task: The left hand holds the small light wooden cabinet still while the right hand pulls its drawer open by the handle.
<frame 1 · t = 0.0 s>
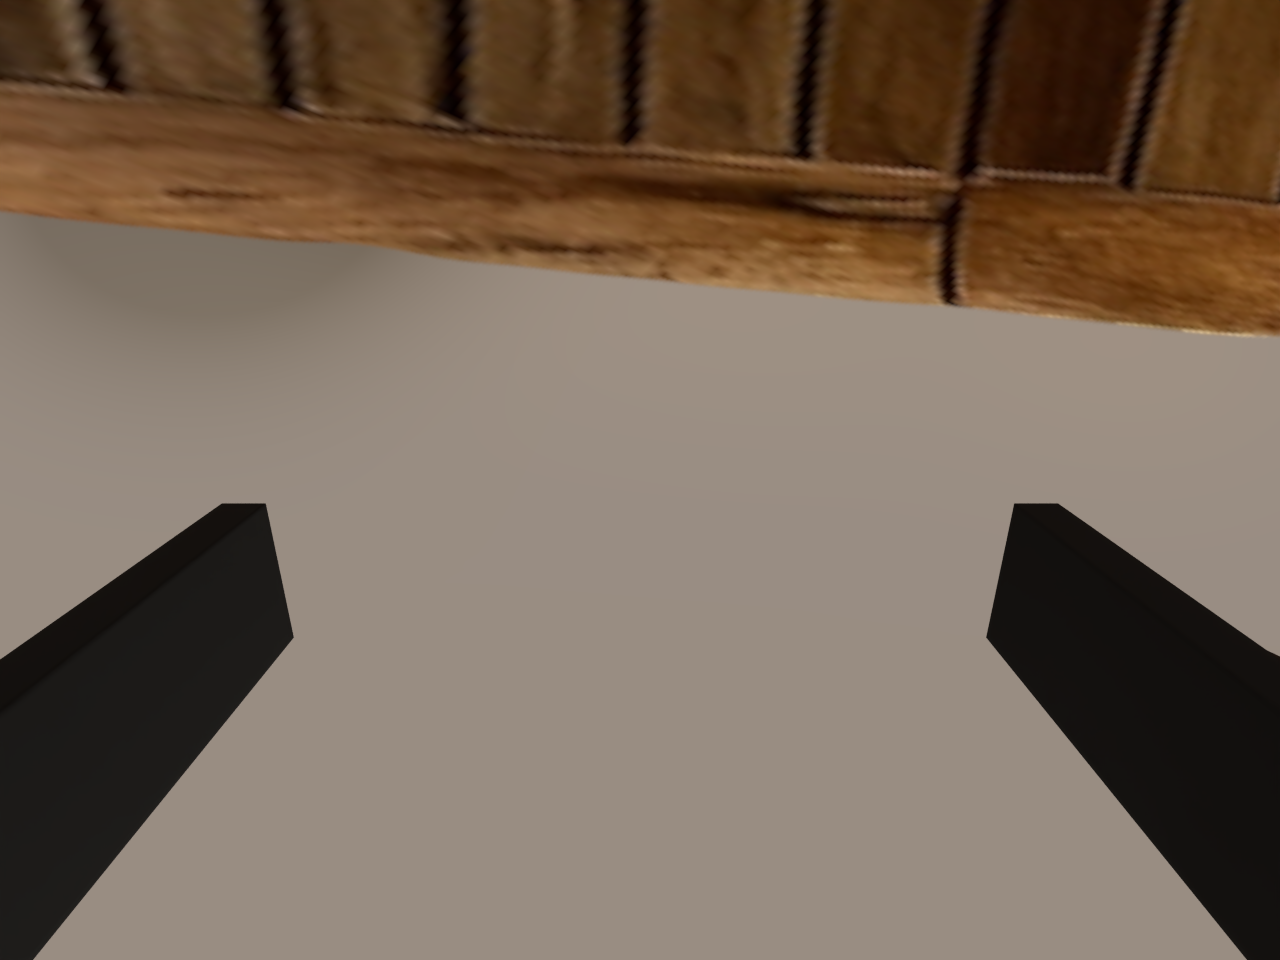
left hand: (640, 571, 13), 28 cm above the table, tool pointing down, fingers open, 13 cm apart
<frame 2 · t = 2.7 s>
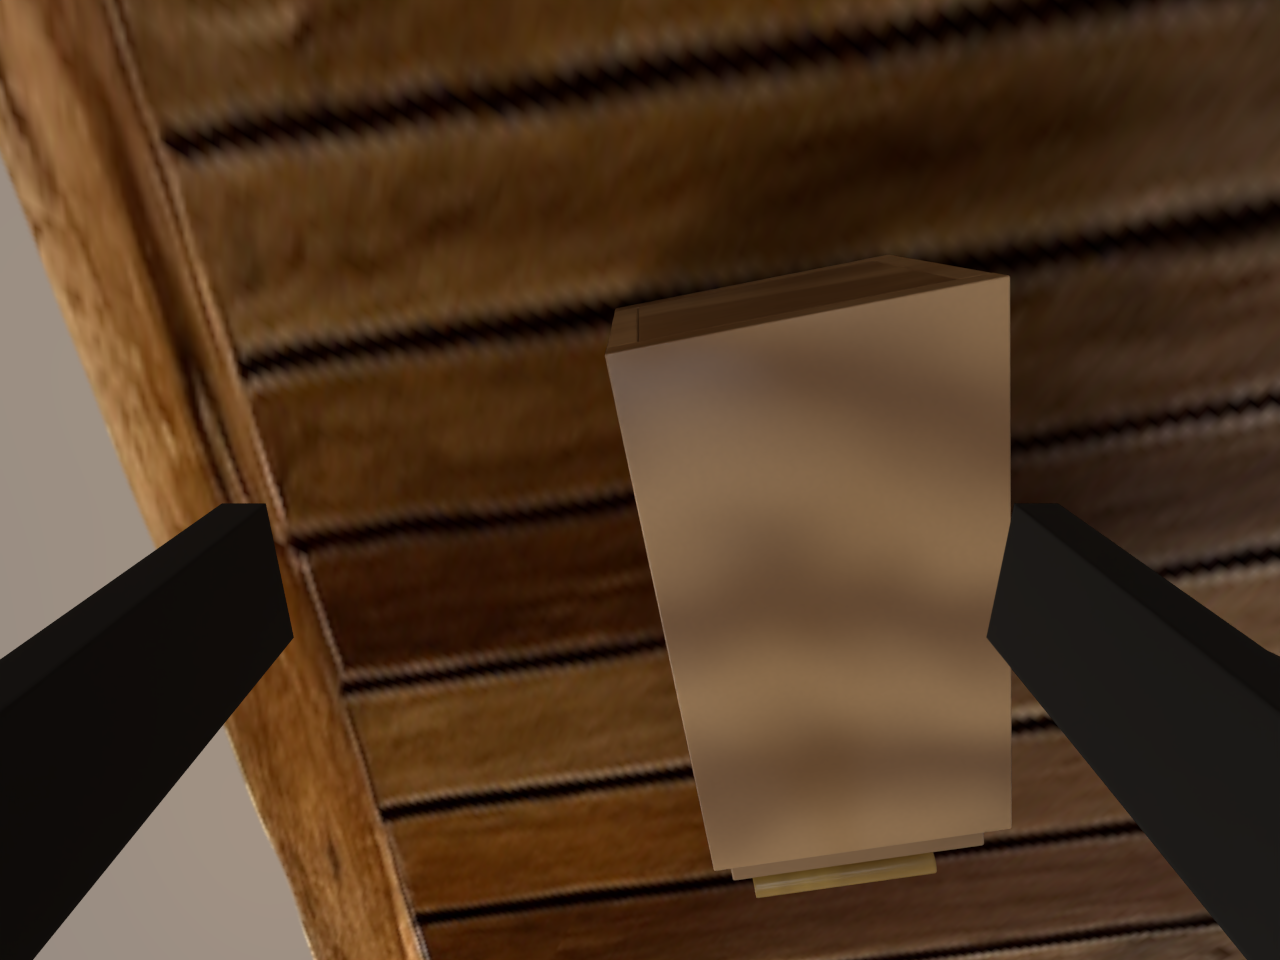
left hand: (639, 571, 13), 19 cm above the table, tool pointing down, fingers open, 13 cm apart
cabinet: (780, 506, 33), on the table
drawer: (817, 669, 30), point 5 cm above the table, slide at 0.7 cm
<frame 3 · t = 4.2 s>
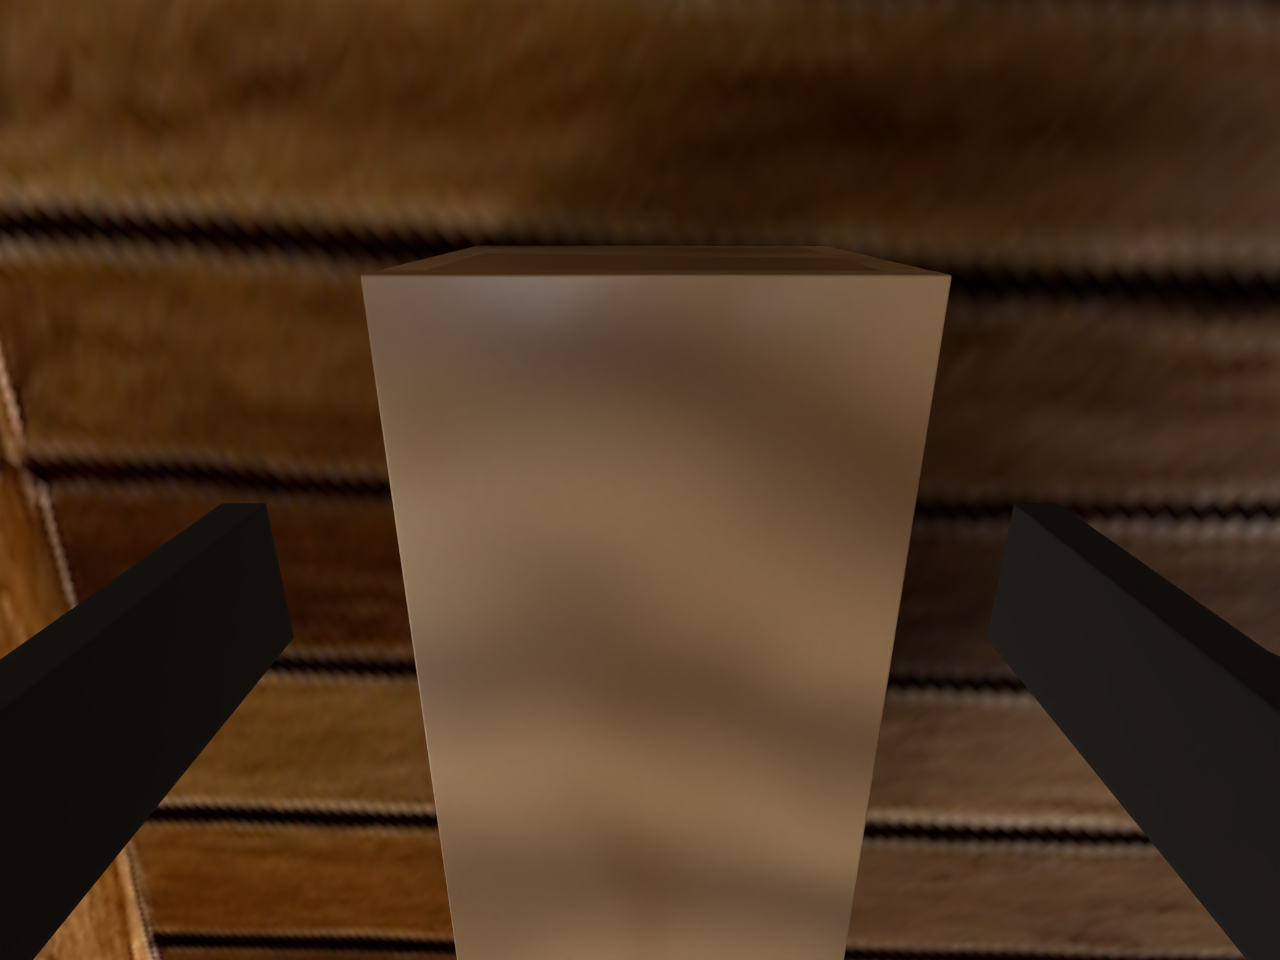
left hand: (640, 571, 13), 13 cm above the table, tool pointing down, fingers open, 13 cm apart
cabinet: (650, 532, 27), on the table
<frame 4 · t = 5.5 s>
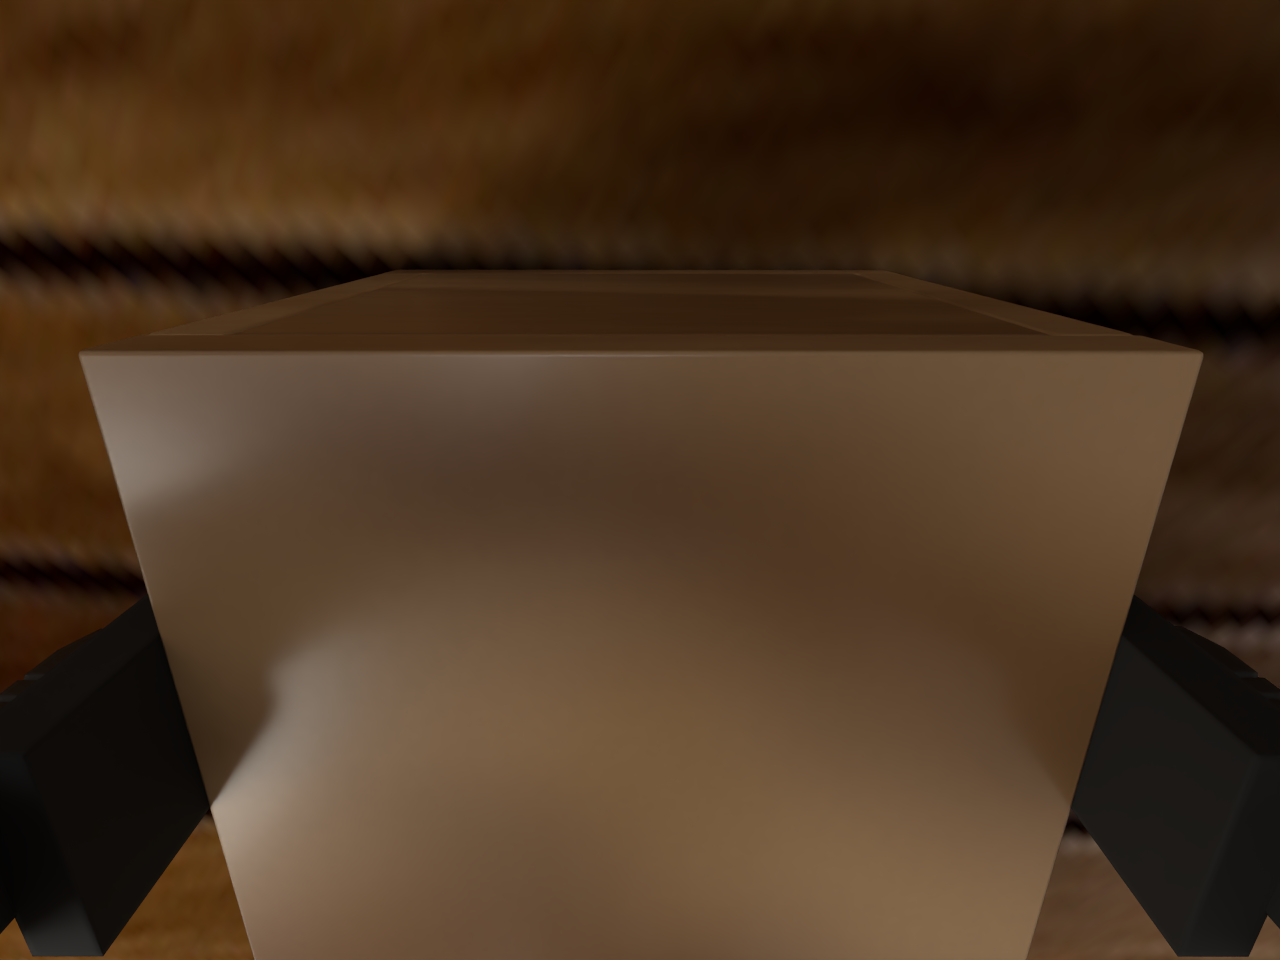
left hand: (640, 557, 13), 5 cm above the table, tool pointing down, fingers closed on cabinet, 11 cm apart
cabinet: (640, 644, 20), on the table, touching left hand
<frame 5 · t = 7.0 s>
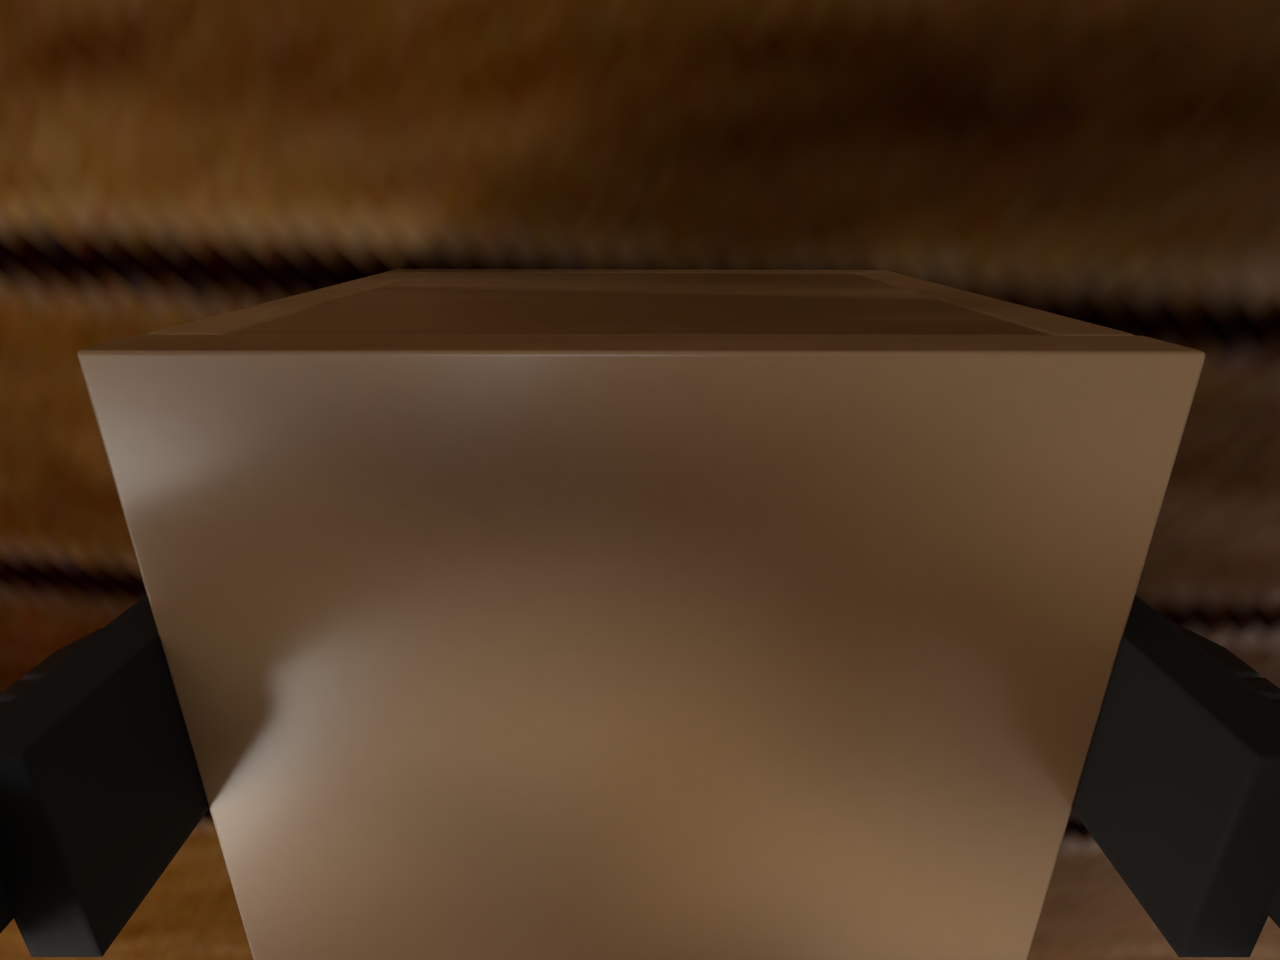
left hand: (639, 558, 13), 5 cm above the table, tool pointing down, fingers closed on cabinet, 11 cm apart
cabinet: (640, 643, 20), on the table, touching left hand
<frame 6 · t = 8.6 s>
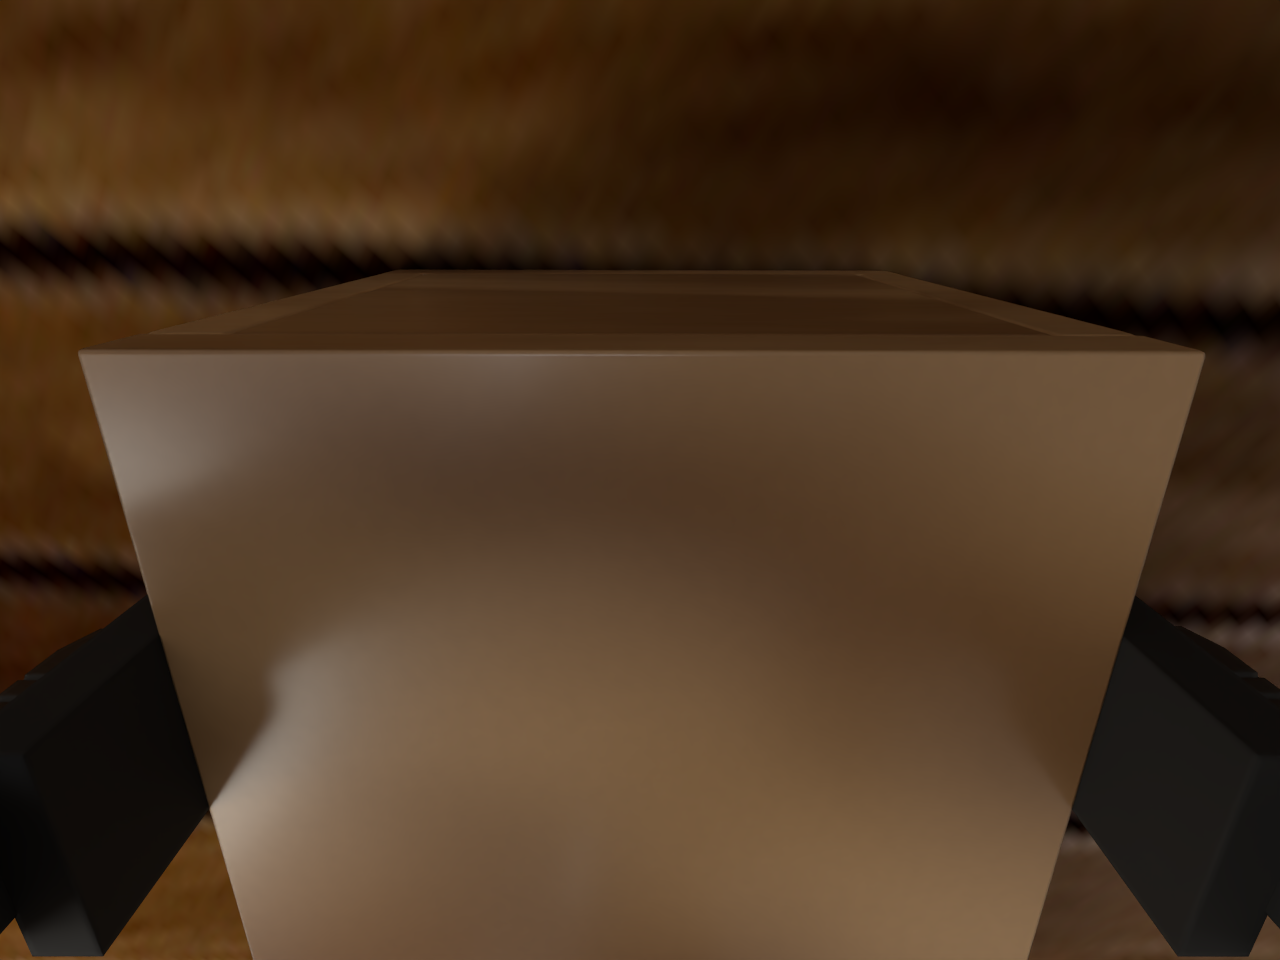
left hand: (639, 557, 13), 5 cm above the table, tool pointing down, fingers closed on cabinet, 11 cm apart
cabinet: (640, 644, 20), on the table, touching left hand
when the left hand's fingers open (5 cm above the table, at t = 10.5 s): cabinet stays where it is, on the table.
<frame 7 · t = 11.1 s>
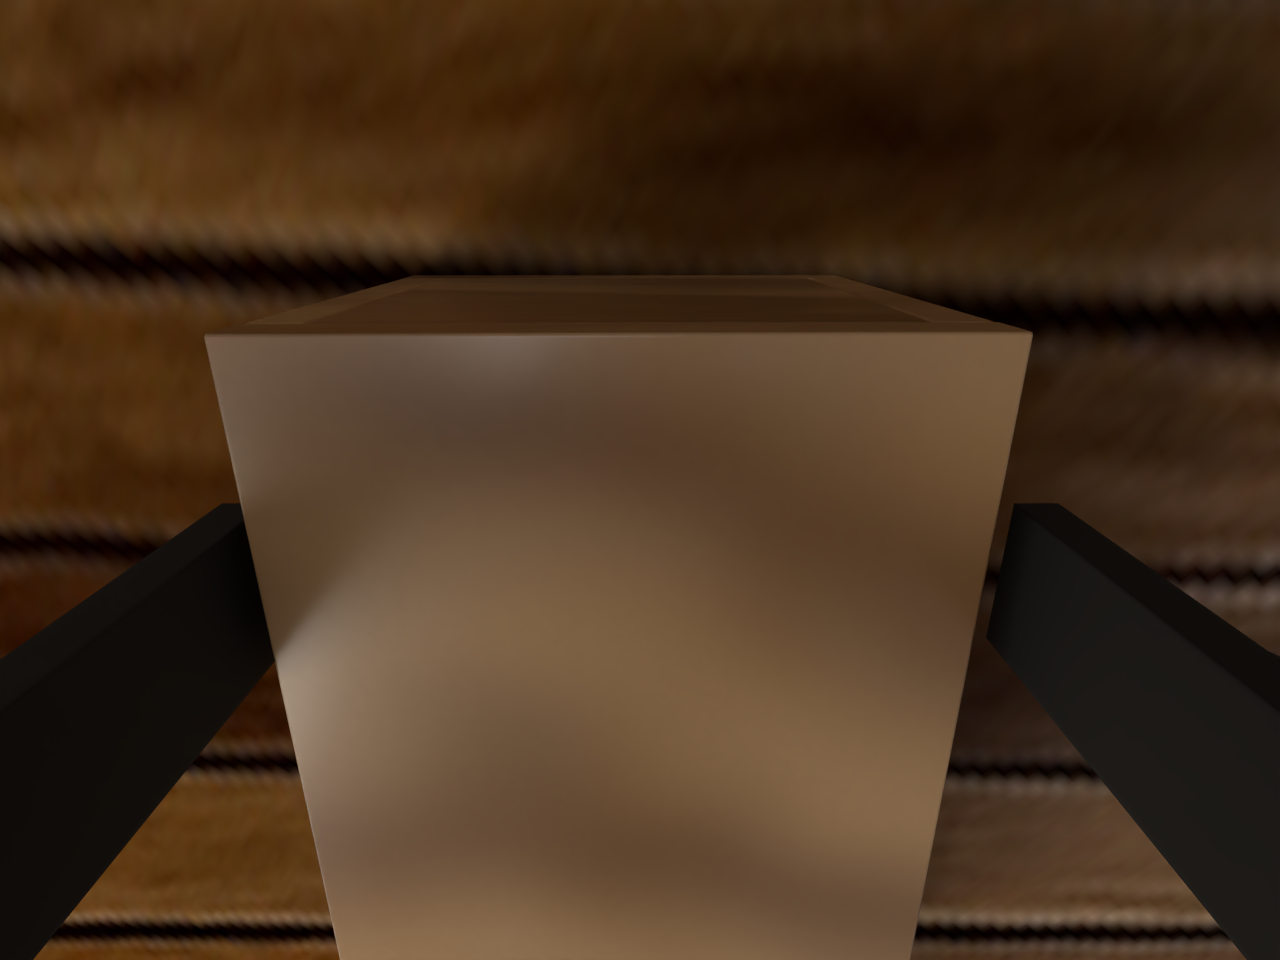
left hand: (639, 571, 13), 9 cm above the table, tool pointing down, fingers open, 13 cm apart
cabinet: (627, 607, 23), on the table
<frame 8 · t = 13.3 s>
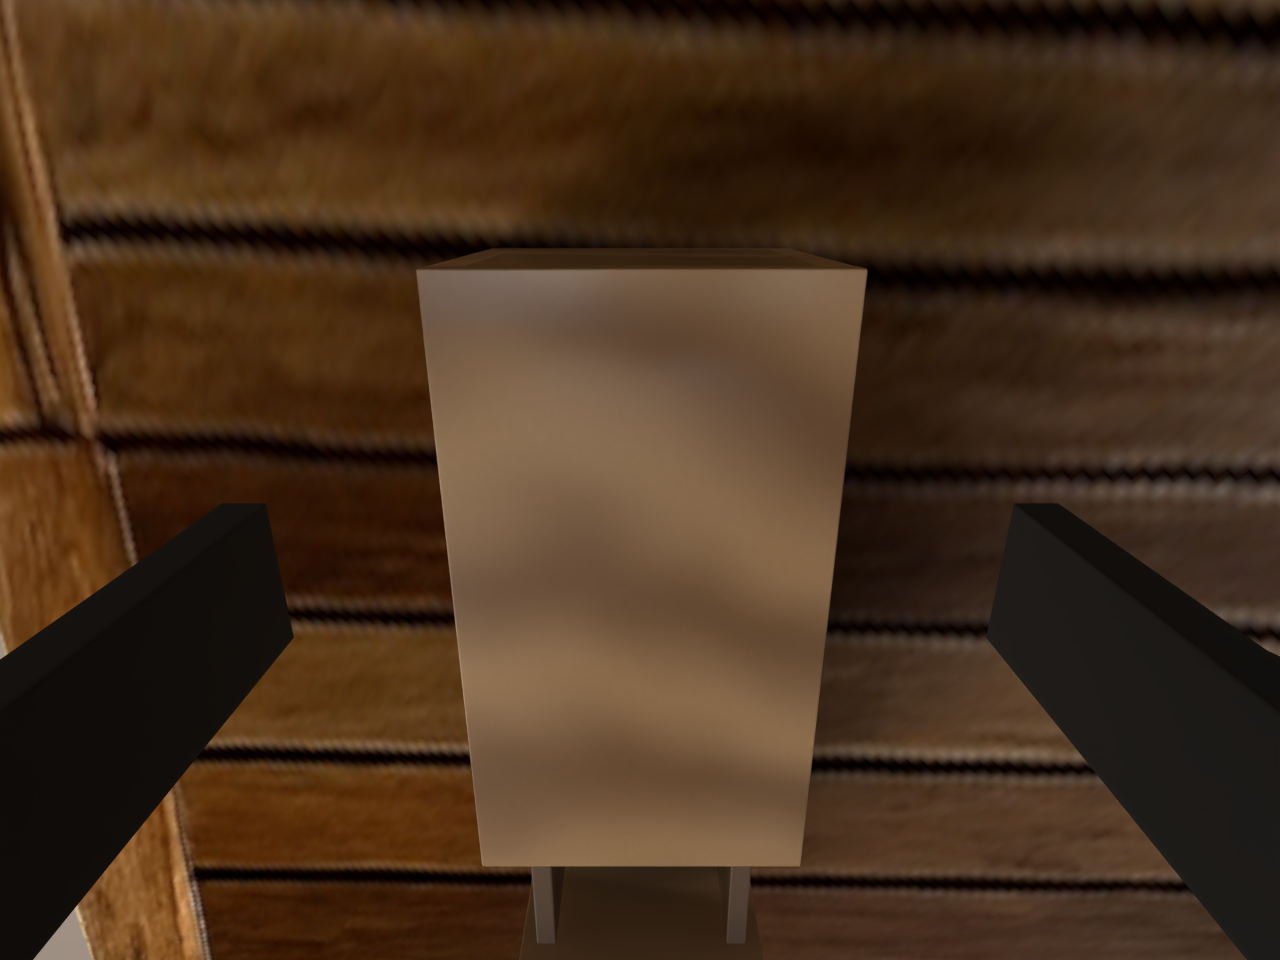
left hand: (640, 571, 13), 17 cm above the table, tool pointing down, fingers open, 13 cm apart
cabinet: (641, 495, 31), on the table
drawer: (641, 797, 30), point 5 cm above the table, slide at 7.3 cm
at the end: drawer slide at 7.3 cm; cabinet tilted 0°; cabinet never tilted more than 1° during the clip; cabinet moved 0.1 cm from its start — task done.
